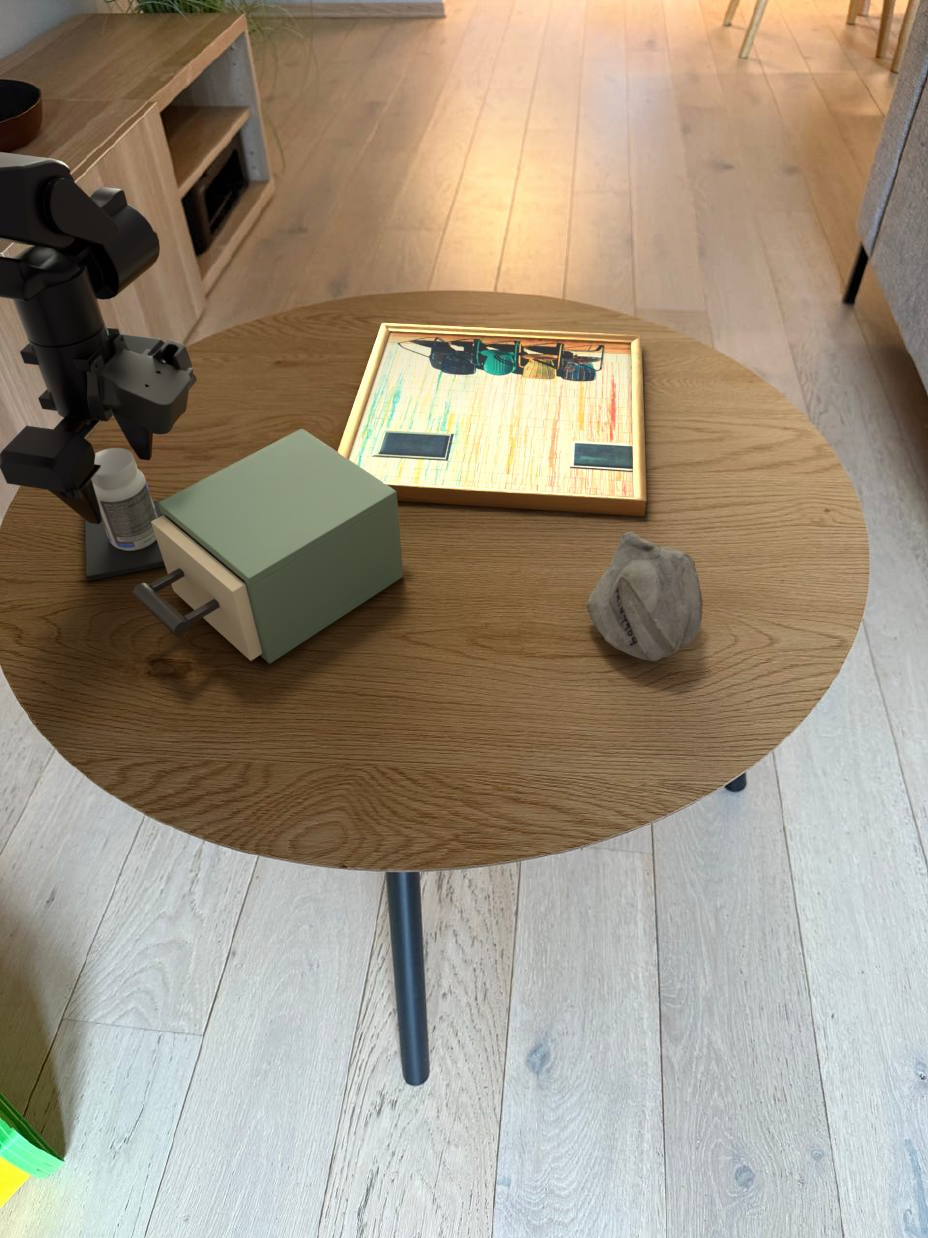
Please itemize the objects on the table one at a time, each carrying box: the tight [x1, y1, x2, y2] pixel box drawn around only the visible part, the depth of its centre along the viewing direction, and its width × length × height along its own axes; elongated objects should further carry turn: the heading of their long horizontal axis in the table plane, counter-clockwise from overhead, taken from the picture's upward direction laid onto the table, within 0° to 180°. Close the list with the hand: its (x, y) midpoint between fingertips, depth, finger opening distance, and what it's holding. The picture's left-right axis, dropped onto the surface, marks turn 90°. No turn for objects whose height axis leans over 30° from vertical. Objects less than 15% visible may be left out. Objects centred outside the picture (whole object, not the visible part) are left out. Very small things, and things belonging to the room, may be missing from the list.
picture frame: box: [337, 322, 648, 517], centre depth 100 cm, size 30×2×30 cm
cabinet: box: [158, 428, 404, 665], centre depth 80 cm, size 15×13×10 cm
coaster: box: [84, 499, 166, 582], centre depth 87 cm, size 9×9×1 cm
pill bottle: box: [91, 447, 158, 551], centre depth 84 cm, size 5×5×8 cm
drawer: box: [132, 515, 262, 662], centre depth 78 cm, size 18×11×8 cm, turn 134°
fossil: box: [586, 531, 704, 662], centre depth 76 cm, size 11×9×8 cm
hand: (121, 489), depth 83 cm, fingers open, 9 cm apart
